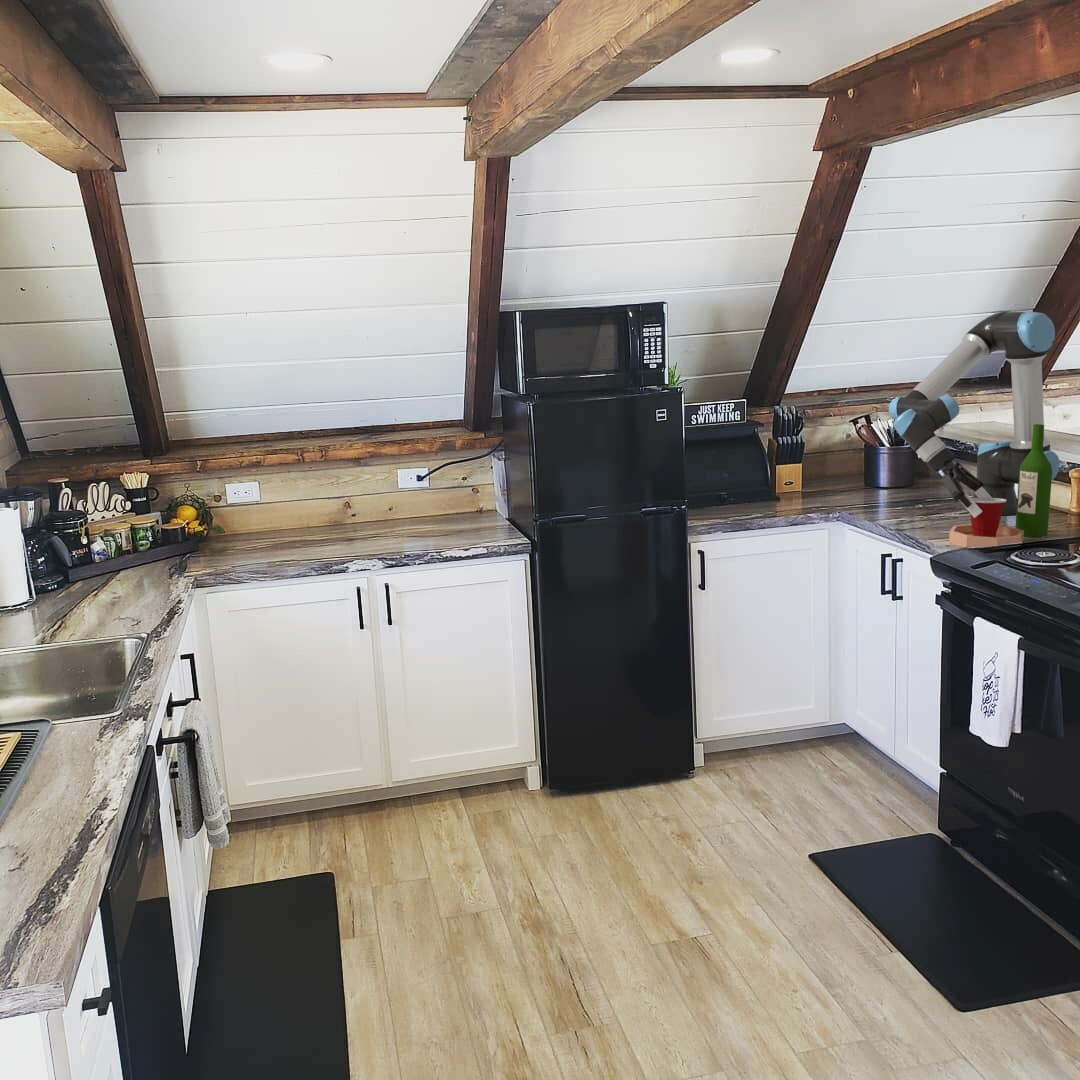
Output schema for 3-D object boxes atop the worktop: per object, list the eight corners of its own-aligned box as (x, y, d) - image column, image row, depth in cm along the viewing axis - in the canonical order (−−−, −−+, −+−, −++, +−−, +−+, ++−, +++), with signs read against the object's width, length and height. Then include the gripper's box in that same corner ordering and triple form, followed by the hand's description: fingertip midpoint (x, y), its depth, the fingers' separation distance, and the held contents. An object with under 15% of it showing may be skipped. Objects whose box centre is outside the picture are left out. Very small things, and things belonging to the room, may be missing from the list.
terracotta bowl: (991, 533, 335) (992, 521, 334) (1036, 546, 317) (1037, 534, 316) (936, 538, 329) (937, 527, 329) (979, 552, 312) (980, 540, 311)
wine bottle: (1009, 534, 332) (1016, 425, 325) (1022, 530, 338) (1029, 422, 331) (1040, 539, 326) (1048, 427, 319) (1052, 533, 332) (1060, 424, 325)
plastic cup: (997, 535, 328) (1000, 494, 325) (1009, 543, 317) (1011, 501, 315) (959, 535, 329) (961, 494, 326) (969, 543, 319) (971, 501, 316)
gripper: (941, 457, 339) (989, 511, 333) (911, 469, 320) (962, 526, 314) (959, 441, 335) (1009, 495, 329) (930, 452, 315) (982, 509, 310)
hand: (986, 510), depth 321 cm, fingers open, 13 cm apart
